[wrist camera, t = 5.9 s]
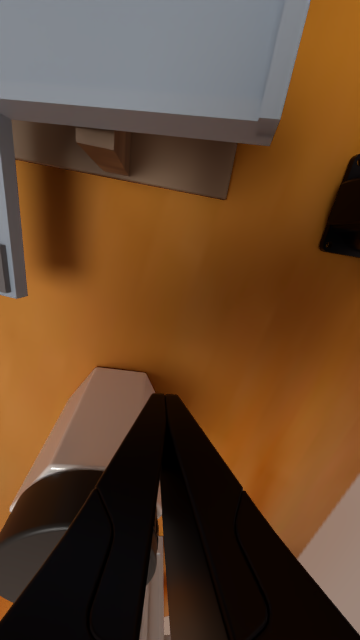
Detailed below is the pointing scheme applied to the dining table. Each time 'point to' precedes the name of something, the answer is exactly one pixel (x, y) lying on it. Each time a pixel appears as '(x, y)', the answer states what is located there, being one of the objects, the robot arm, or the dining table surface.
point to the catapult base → (129, 156)
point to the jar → (71, 473)
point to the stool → (154, 603)
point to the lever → (139, 77)
